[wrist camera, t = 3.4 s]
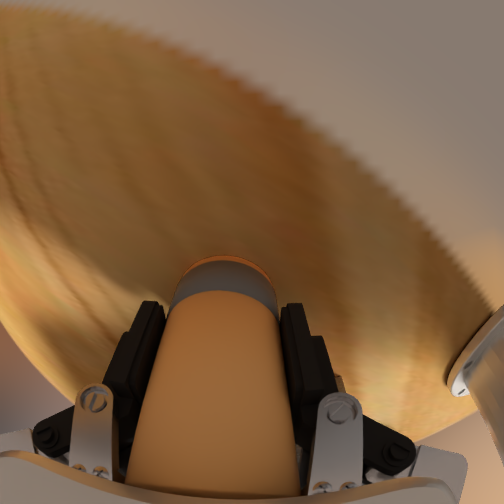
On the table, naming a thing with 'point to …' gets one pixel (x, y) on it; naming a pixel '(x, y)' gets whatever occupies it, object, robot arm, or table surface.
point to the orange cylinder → (218, 392)
